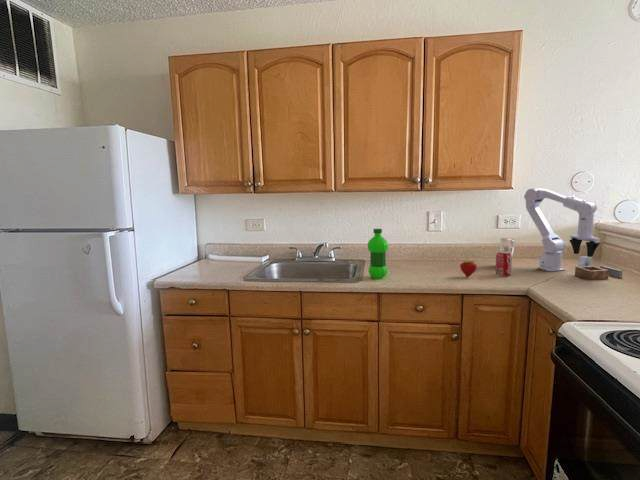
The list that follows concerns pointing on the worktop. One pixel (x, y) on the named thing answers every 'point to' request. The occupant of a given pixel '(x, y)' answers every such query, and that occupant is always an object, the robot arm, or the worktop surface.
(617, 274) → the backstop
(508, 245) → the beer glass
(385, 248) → the plastic bottle
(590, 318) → the worktop surface
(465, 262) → the strawberry
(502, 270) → the soda can
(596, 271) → the square wooden frame
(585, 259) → the grey rectangular block
